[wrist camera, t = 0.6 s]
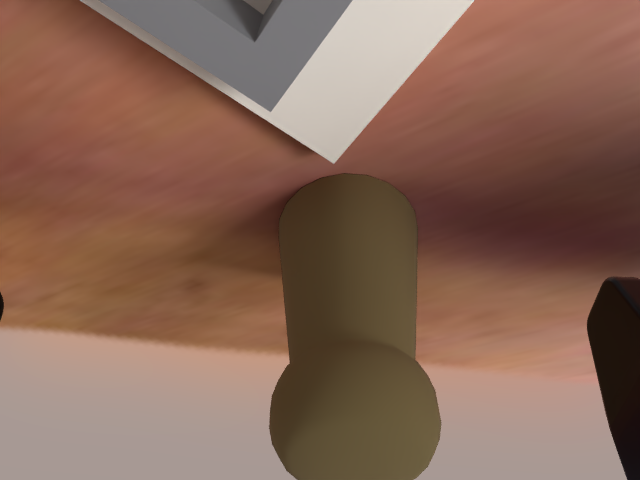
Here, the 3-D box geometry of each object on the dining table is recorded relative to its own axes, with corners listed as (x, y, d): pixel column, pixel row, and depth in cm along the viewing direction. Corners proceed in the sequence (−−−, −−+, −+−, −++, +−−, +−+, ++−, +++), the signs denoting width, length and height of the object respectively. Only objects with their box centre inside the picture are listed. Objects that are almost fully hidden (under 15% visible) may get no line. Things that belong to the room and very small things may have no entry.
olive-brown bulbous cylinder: (338, 302, 27) (340, 539, 19) (249, 225, 24) (204, 463, 16) (445, 239, 25) (505, 480, 16) (359, 145, 22) (377, 376, 13)
